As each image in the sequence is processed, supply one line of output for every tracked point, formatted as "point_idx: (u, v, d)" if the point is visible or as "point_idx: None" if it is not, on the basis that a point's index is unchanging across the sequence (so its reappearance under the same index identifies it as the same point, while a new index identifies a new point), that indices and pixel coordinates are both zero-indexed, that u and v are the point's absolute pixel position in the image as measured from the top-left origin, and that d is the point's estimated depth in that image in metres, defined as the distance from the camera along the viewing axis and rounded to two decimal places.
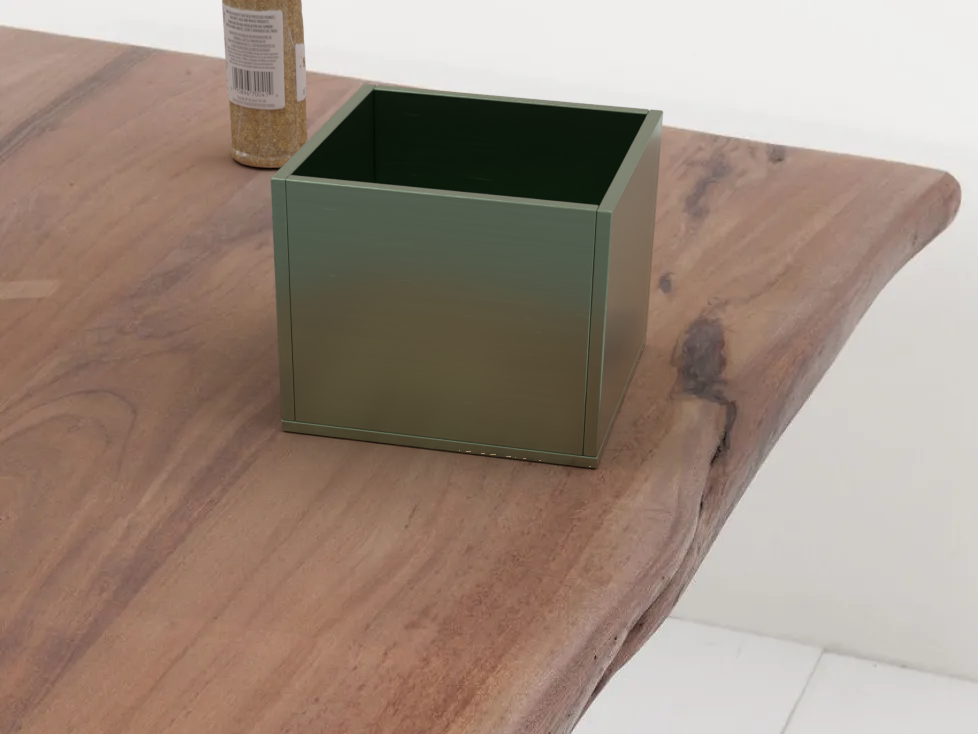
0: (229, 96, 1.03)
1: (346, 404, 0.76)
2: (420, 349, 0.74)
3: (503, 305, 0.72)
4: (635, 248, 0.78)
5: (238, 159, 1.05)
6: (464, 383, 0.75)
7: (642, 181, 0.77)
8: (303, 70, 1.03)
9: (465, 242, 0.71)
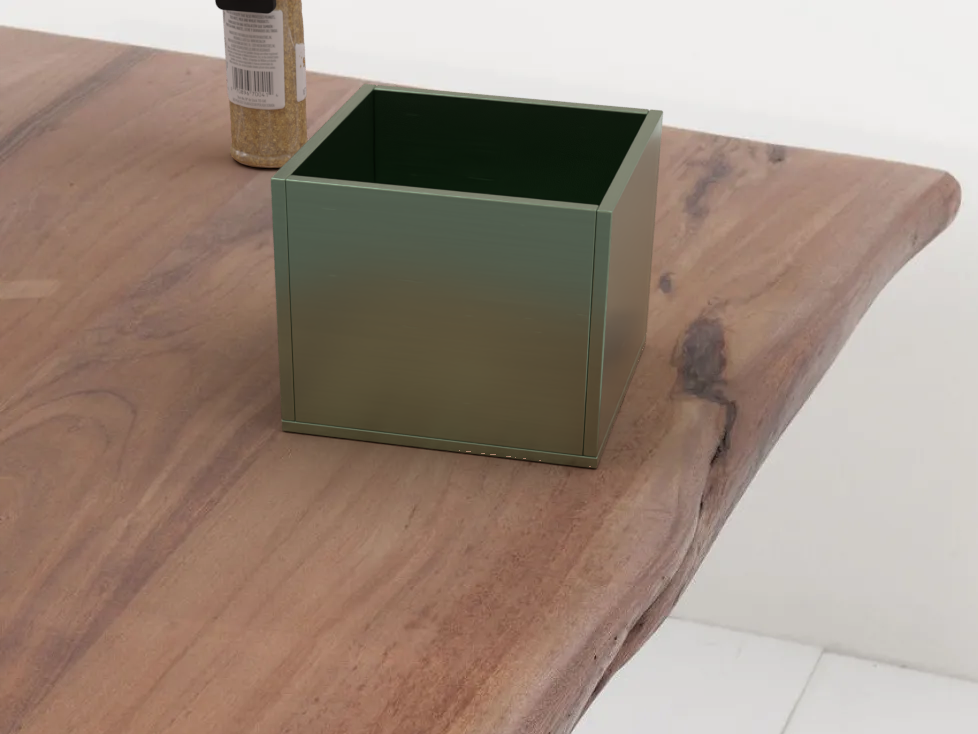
0: (229, 96, 1.03)
1: (346, 404, 0.76)
2: (420, 349, 0.74)
3: (503, 305, 0.72)
4: (635, 248, 0.78)
5: (238, 159, 1.05)
6: (464, 383, 0.75)
7: (642, 181, 0.77)
8: (303, 70, 1.03)
9: (465, 242, 0.71)
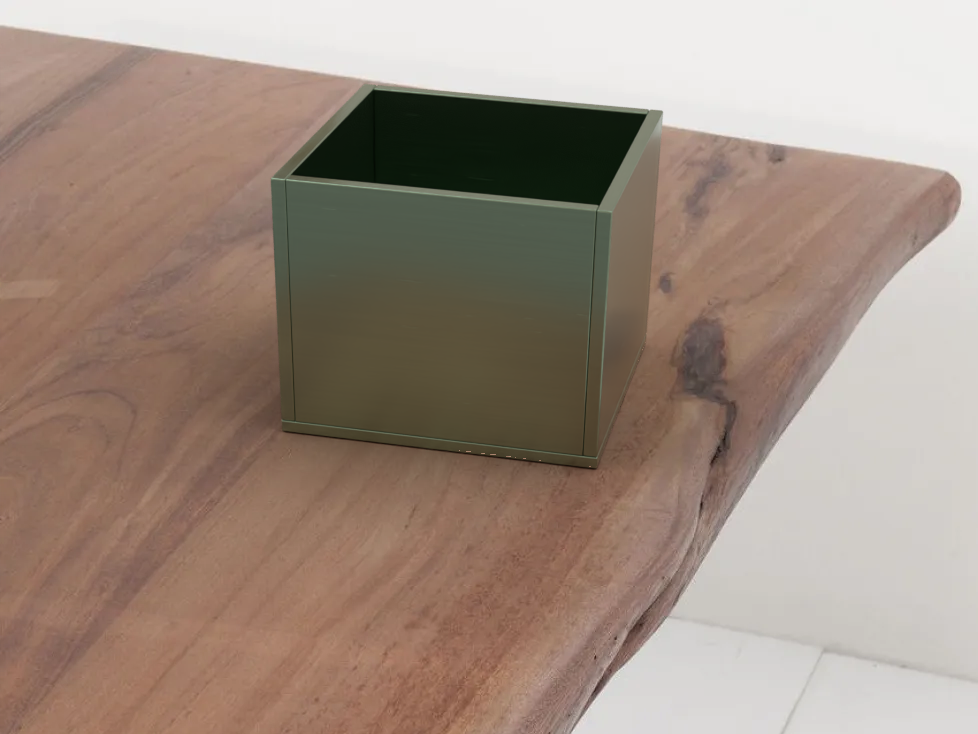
0: None
1: (346, 404, 0.76)
2: (420, 349, 0.74)
3: (503, 305, 0.72)
4: (635, 248, 0.78)
5: None
6: (464, 383, 0.75)
7: (642, 181, 0.77)
8: None
9: (465, 242, 0.71)
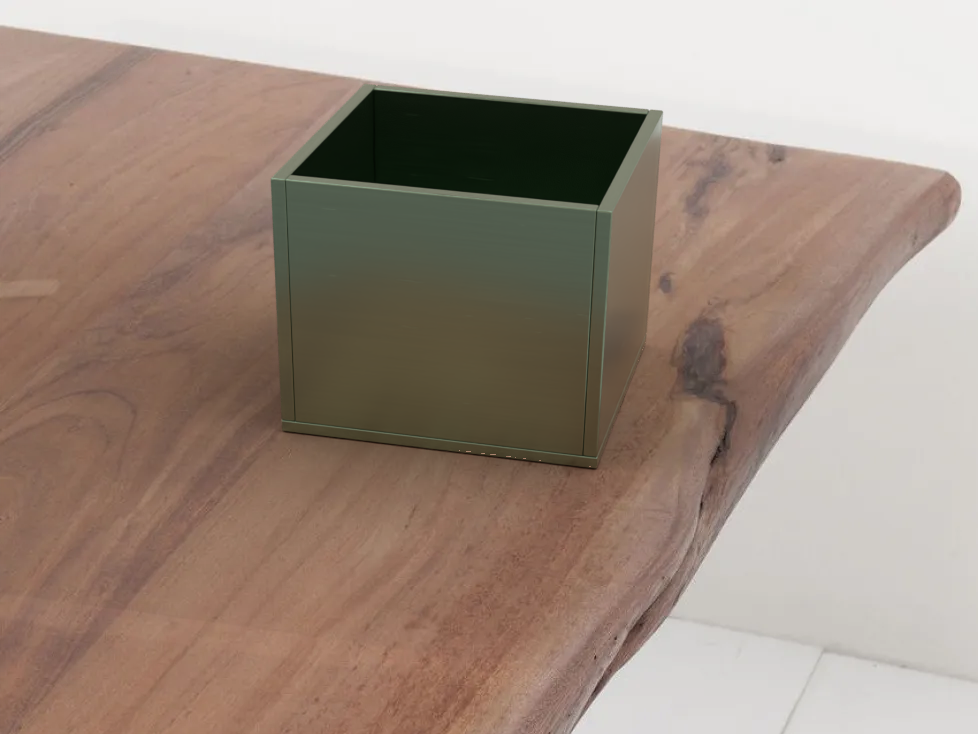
0: None
1: (346, 404, 0.76)
2: (420, 349, 0.74)
3: (503, 305, 0.72)
4: (635, 248, 0.78)
5: None
6: (464, 383, 0.75)
7: (642, 181, 0.77)
8: None
9: (465, 242, 0.71)
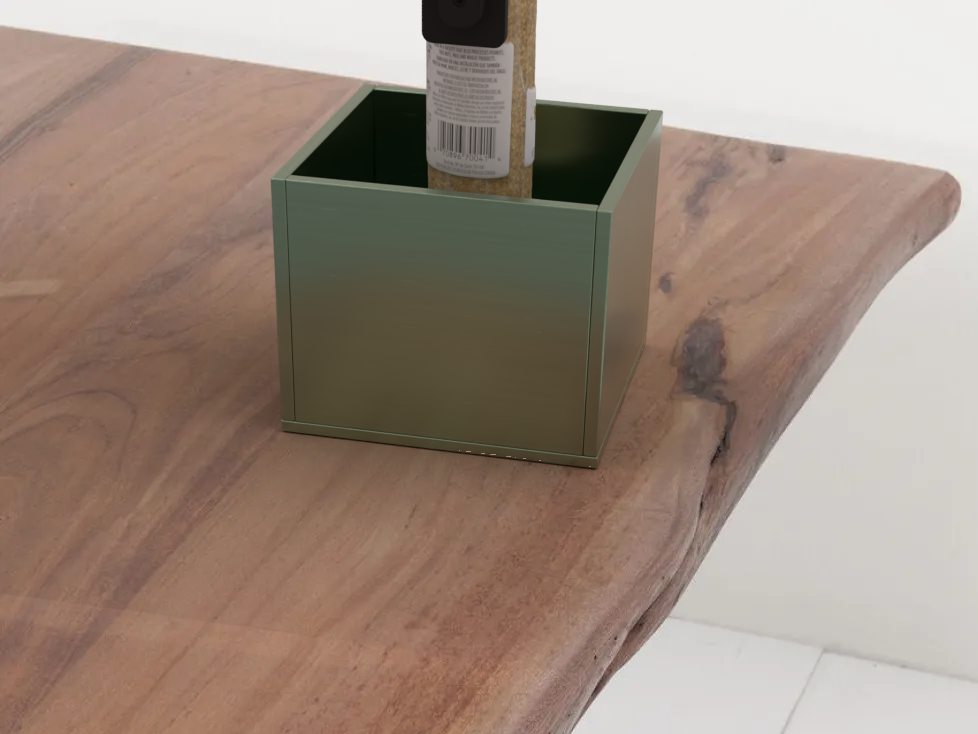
0: (430, 159, 0.75)
1: (346, 404, 0.76)
2: (420, 349, 0.74)
3: (503, 305, 0.72)
4: (635, 248, 0.78)
5: None
6: (464, 383, 0.75)
7: (642, 181, 0.77)
8: (533, 124, 0.75)
9: (465, 242, 0.71)
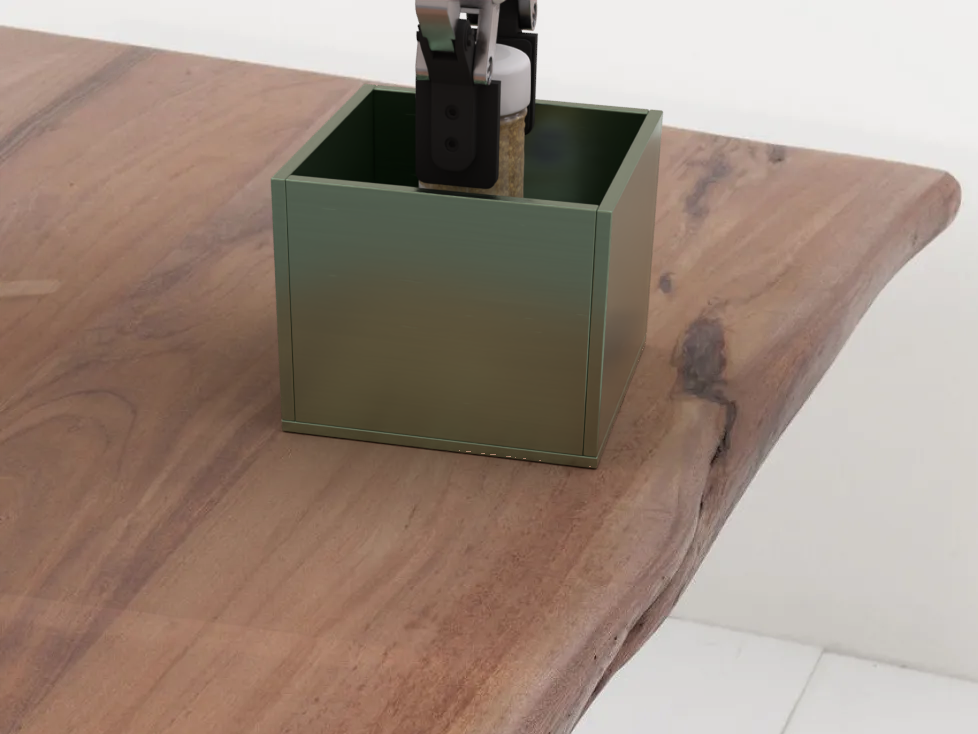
0: None
1: (346, 404, 0.76)
2: (420, 349, 0.74)
3: (503, 305, 0.72)
4: (635, 248, 0.78)
5: None
6: (464, 383, 0.75)
7: (642, 181, 0.77)
8: None
9: (465, 242, 0.71)
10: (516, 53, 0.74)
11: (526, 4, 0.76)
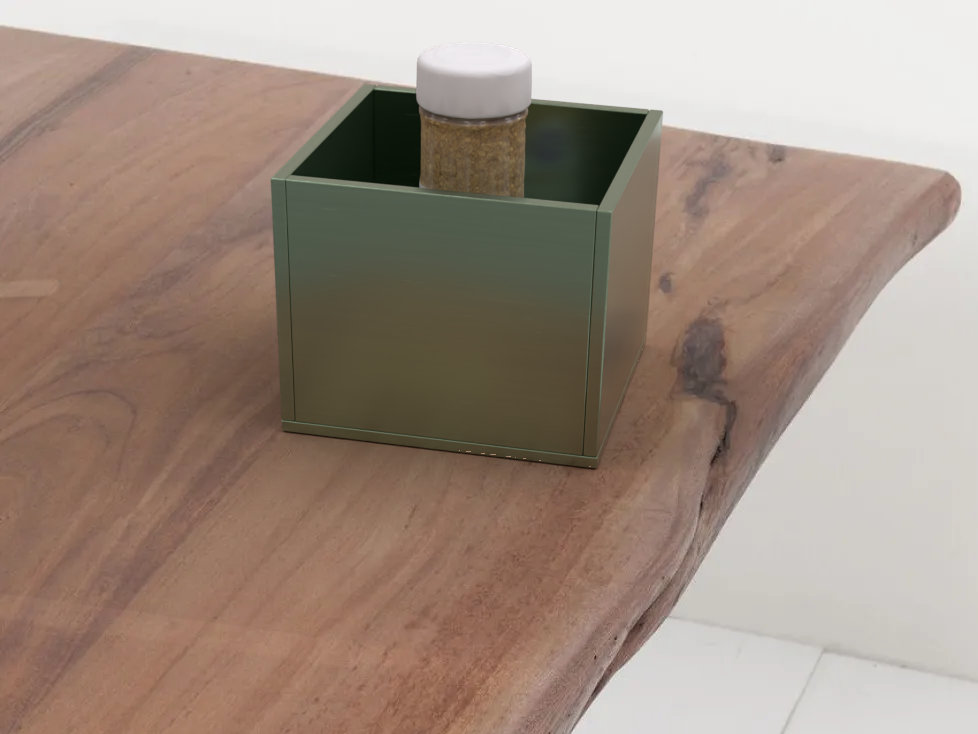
0: None
1: (346, 404, 0.76)
2: (420, 349, 0.74)
3: (503, 305, 0.72)
4: (635, 248, 0.78)
5: None
6: (464, 383, 0.75)
7: (642, 181, 0.77)
8: None
9: (465, 242, 0.71)
10: (517, 54, 0.74)
11: None
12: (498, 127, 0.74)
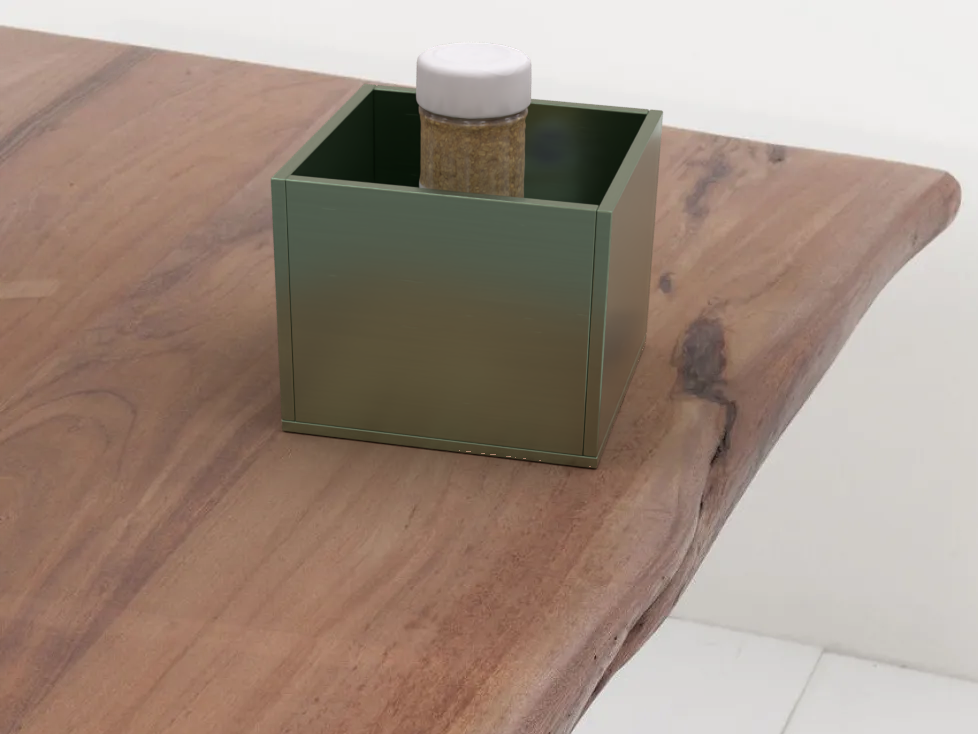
0: None
1: (346, 404, 0.76)
2: (420, 349, 0.74)
3: (503, 305, 0.72)
4: (635, 248, 0.78)
5: None
6: (464, 383, 0.75)
7: (642, 181, 0.77)
8: None
9: (465, 242, 0.71)
10: (517, 54, 0.74)
11: None
12: (498, 127, 0.74)
